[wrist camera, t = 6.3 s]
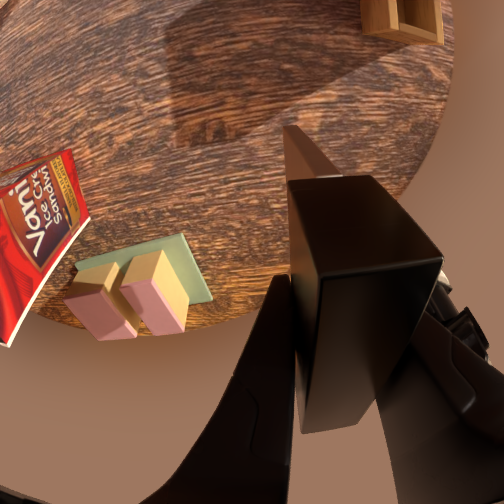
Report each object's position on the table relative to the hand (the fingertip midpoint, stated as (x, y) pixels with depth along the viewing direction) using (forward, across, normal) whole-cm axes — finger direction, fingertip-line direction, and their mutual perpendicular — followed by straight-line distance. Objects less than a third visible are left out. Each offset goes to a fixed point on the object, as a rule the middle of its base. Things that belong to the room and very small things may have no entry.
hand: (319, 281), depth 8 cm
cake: (+12, +17, +11) cm, 23 cm away
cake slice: (+12, +11, +10) cm, 19 cm away
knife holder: (+13, -9, -13) cm, 20 cm away
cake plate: (+13, +13, +10) cm, 21 cm away
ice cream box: (+13, +25, -1) cm, 28 cm away
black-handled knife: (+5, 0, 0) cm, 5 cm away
